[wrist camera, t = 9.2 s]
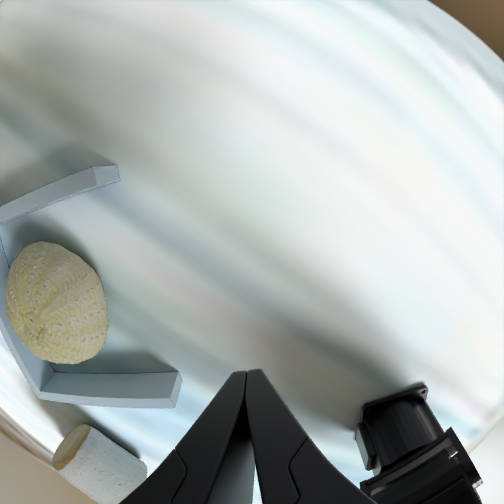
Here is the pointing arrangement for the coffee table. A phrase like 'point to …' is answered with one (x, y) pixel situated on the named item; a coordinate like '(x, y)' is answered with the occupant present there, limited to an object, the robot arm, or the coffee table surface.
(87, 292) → the sea urchin shell
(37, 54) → the coffee table surface
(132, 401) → the corral
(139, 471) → the ceramic mug
